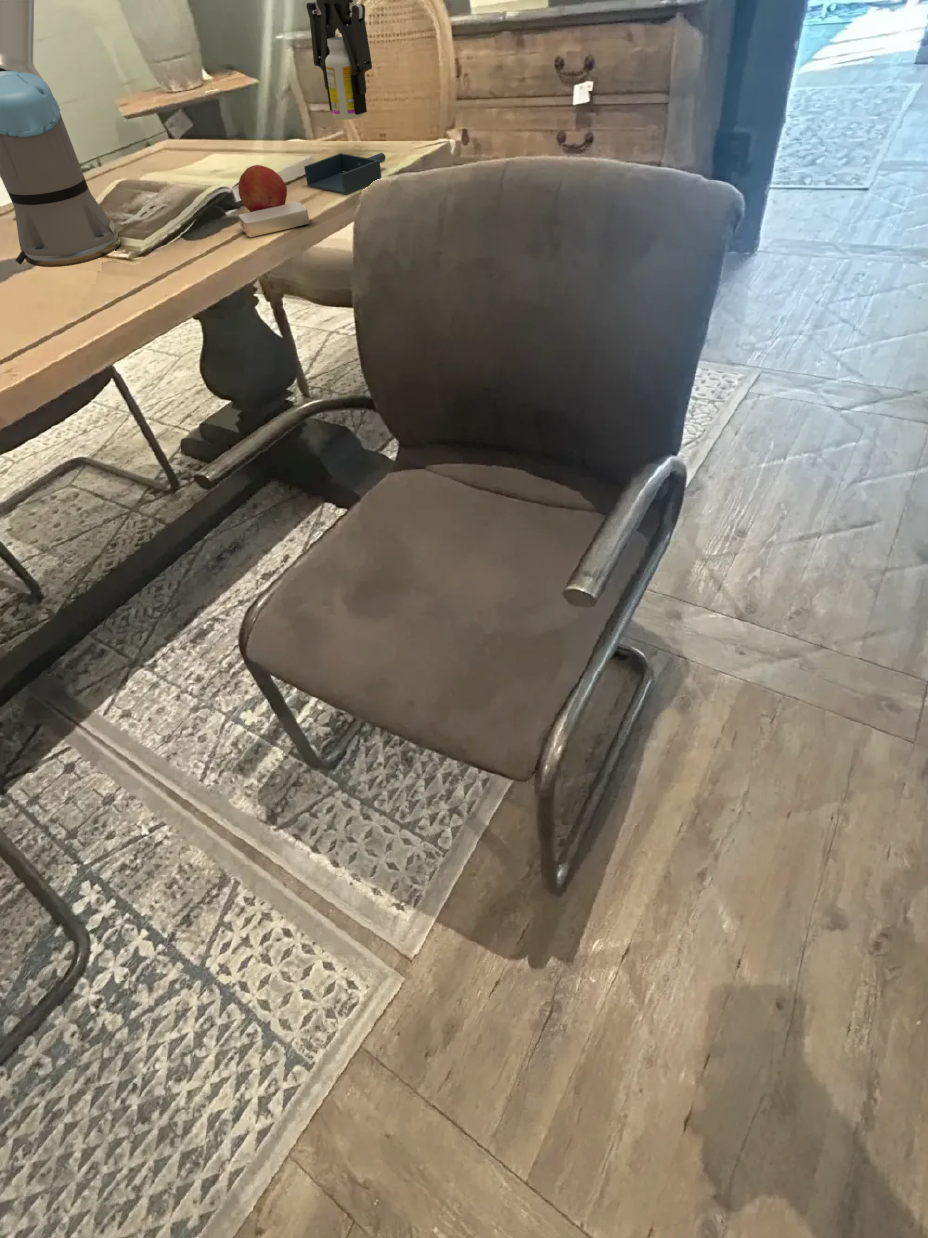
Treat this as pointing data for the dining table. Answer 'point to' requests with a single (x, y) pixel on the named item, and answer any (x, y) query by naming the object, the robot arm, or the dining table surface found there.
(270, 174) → the fruit
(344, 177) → the scoop
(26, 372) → the dining table surface
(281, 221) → the multiport hub
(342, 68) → the supplement bottle
